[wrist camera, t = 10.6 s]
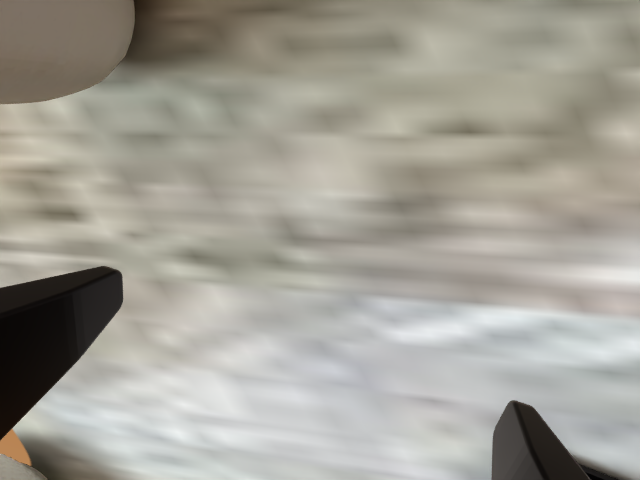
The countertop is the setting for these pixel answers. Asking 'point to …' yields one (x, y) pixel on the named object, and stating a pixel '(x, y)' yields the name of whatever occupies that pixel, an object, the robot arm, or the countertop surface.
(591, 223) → the countertop surface
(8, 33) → the grey bottle
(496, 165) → the countertop surface
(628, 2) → the countertop surface
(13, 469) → the cereal bowl
